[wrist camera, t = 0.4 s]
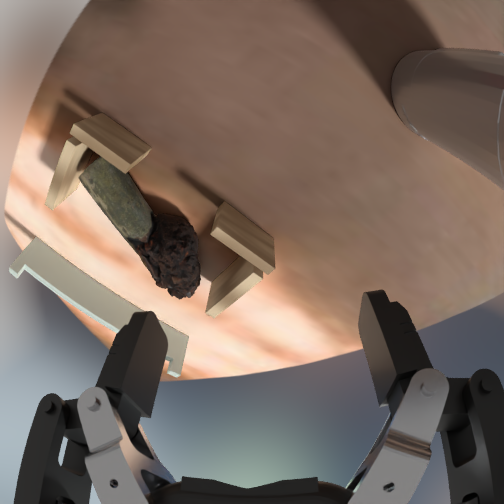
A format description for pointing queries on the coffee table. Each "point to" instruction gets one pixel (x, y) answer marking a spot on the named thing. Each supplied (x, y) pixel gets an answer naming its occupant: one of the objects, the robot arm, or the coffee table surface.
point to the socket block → (225, 224)
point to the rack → (90, 296)
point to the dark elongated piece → (146, 229)
